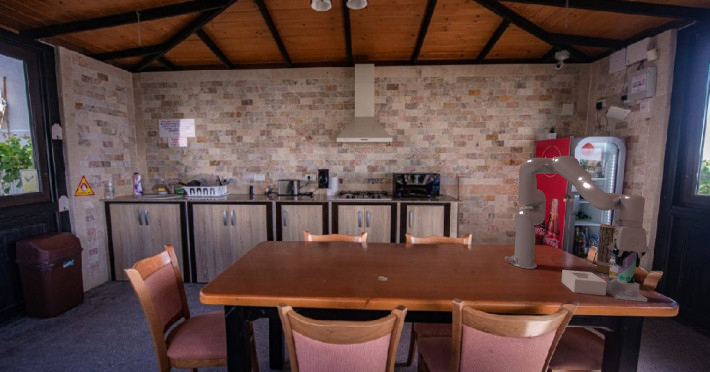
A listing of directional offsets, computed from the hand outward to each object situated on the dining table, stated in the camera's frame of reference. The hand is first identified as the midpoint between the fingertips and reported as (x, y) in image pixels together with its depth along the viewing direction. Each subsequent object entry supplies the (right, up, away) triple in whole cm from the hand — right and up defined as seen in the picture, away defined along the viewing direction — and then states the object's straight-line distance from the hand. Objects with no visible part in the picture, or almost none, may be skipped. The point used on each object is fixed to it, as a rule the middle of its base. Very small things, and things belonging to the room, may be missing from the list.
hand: (627, 265), depth 128 cm
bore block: (-13, -13, +8) cm, 20 cm away
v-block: (0, -13, +1) cm, 13 cm away
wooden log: (+16, -12, +30) cm, 36 cm away
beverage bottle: (+9, -13, +13) cm, 21 cm away
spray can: (0, -8, +1) cm, 8 cm away
